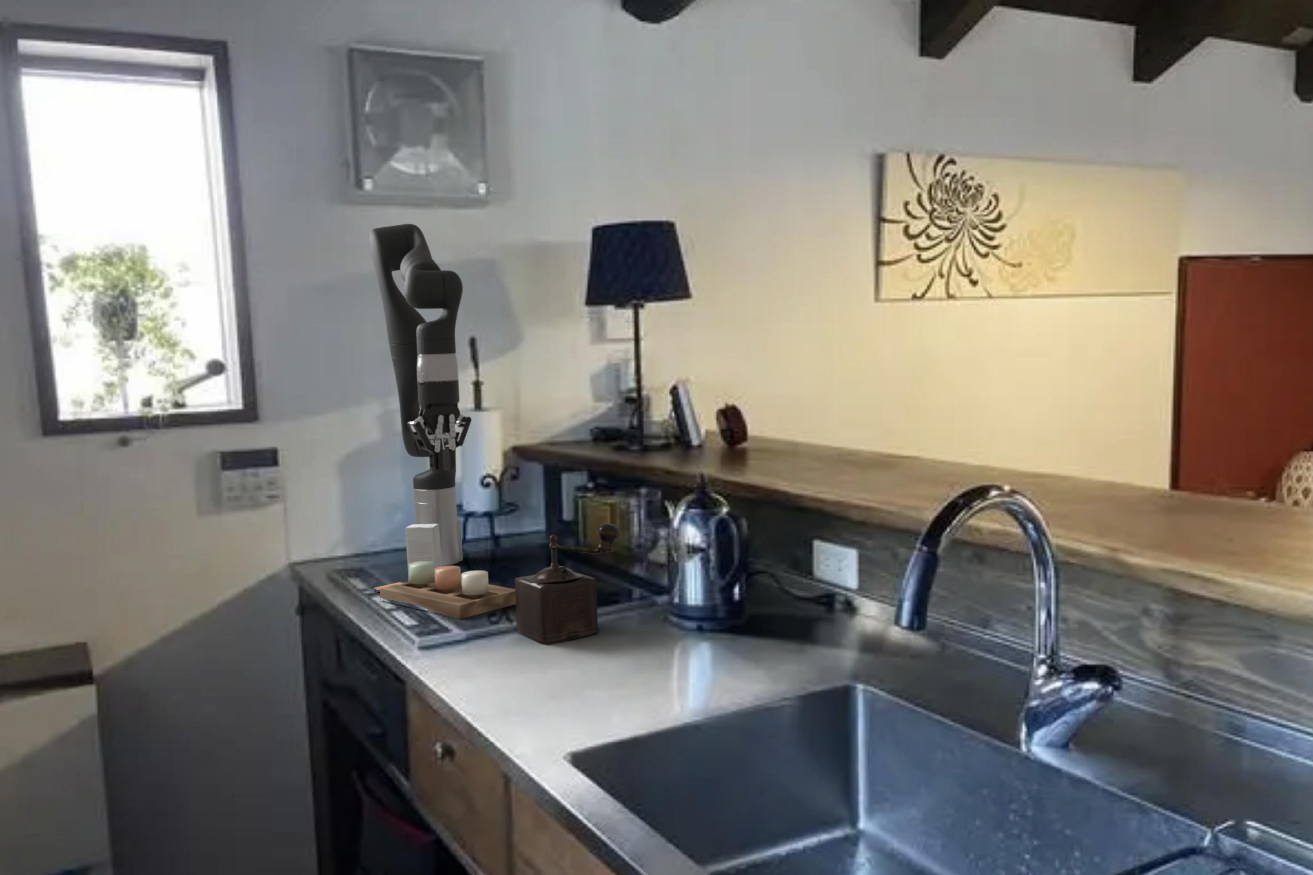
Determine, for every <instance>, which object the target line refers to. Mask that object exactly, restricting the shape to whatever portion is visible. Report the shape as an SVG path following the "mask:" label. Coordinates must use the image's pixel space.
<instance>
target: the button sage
mask: <svg viewBox="0 0 1313 875" xmlns="http://www.w3.org/2000/svg"><path fill="white" fill-rule="evenodd" d="M409 575H410V583H411V584H428V583H432V582H434V581H435V567H434V562H431V561H420V562H414V563H410V564H409Z"/></svg>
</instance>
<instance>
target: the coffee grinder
mask: <svg viewBox="0 0 1313 875" xmlns="http://www.w3.org/2000/svg"><path fill="white" fill-rule="evenodd" d="M596 533H597V535H598V538H599V544H598V545H597V548H591V547H590V548H589V547H582V546H570V545H569V546H564V545H559V544H558V543H557V540H558V537H557V535H555V534H551V535H550V536H549V542H550V543H549V545H548V547H549V548H550V554H551V564H550V566H547V567H545V568H543V569H541V570H539V571H538V572H537V573H536V574H532V575H527V576H520V577H515V579H514V589H515V599H516V604H515V616H516V618H515V619H516V620H515V621H516V633H518V634H519V635H521V636H523V637H525V638H528V639H530V640H532V641H534V642H536V643H539V644H541V645H545V646H547V645H552V644H553V645H554V644H557V643H562V642H563V643H564V642H568V641H572V640H577V639H579V638H583V637H587V636H591V635H595V634H598V633H600V630H599V624H598V621H599V620H598V600H597V599H598V597H597V596H598V595H597V578H595V577H591V576H589V575H585V574H582V573H578V572H574V571H573V570H572V569H570V568H569V567H566V566H562V565H559V563H558V554H557V553H558V552H557V551H558V550H559V551H561V552H571V553H574V552H575V553H585V554H591V555H592V554H593V555H597V554H603V555H605V554H608V553H609V552H613V553H614V551H615V550H614V543H615V542H616V541H617V540H618V539H619V538H620V536H621V530H620V528H619V527H618V526H616V524H613V523H606V522H604V523H602V524H600V525H598V527H597V529H596Z"/></svg>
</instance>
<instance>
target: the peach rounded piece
mask: <svg viewBox="0 0 1313 875" xmlns="http://www.w3.org/2000/svg"><path fill="white" fill-rule="evenodd" d="M461 574H462V573H461V567H460V566H458V565H446V566H442V567H438V568H435V588H436V589H441V590H447V589H455V588H459V587H461V579H462V576H461Z"/></svg>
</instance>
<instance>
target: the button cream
mask: <svg viewBox="0 0 1313 875" xmlns="http://www.w3.org/2000/svg"><path fill="white" fill-rule="evenodd" d="M461 579H462V593H463V594H465V595H480V594H485V593H487V592H489V586H488V584H489V572H488V571H487V570H468V571H464V572H462V573H461Z"/></svg>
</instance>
